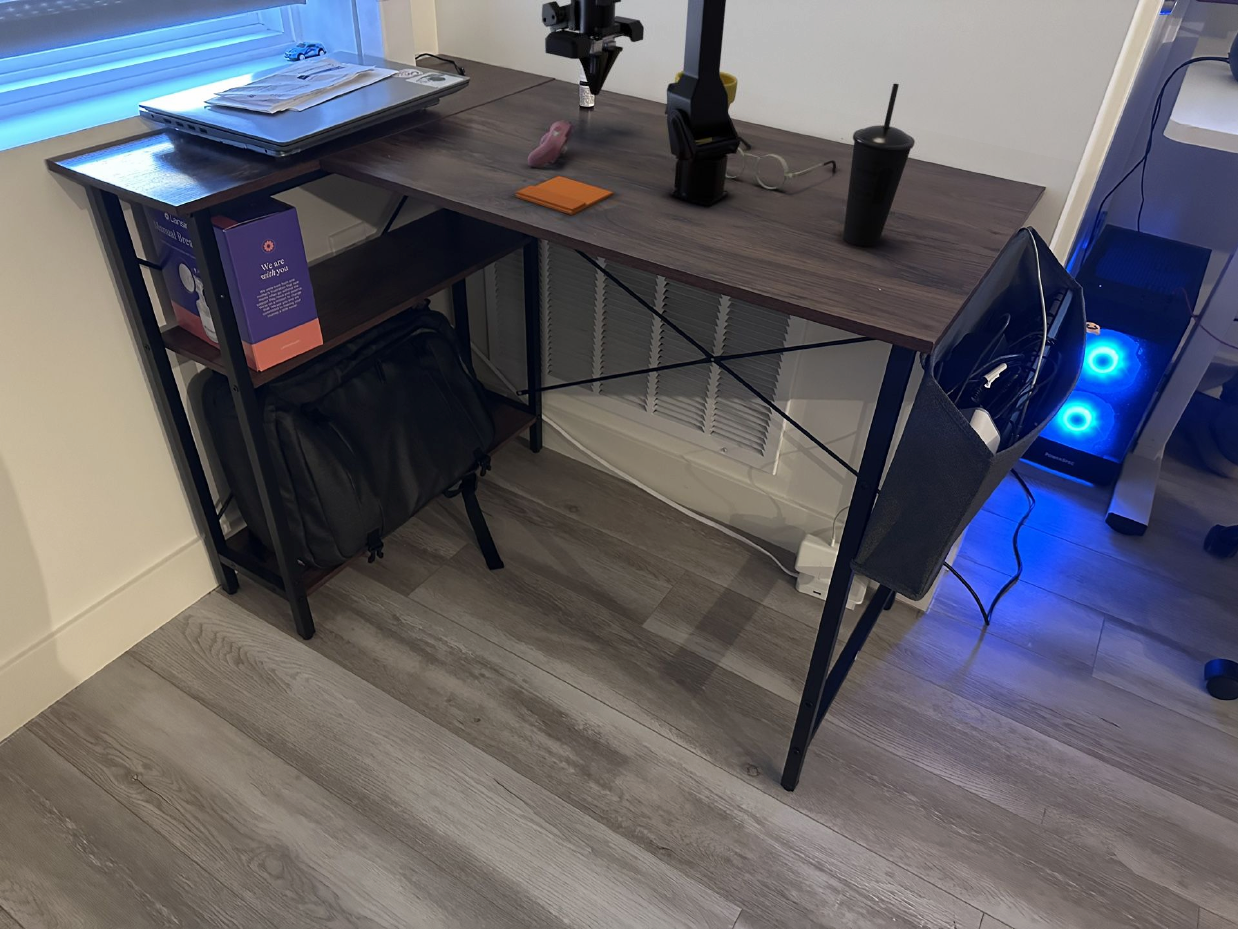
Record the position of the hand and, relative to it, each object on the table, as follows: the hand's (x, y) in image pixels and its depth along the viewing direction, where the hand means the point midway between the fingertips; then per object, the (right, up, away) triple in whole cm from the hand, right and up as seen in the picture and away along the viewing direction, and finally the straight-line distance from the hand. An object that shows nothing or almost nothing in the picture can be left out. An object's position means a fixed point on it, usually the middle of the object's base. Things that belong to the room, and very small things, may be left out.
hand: (594, 94), depth 141 cm
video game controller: (-7, -12, -2) cm, 14 cm away
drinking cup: (+37, -29, -22) cm, 52 cm away
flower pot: (+18, -3, +10) cm, 21 cm away
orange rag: (-4, -21, -15) cm, 26 cm away
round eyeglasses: (+28, -13, -2) cm, 31 cm away
